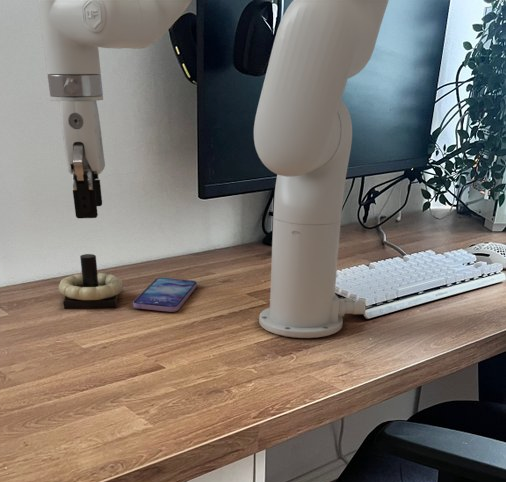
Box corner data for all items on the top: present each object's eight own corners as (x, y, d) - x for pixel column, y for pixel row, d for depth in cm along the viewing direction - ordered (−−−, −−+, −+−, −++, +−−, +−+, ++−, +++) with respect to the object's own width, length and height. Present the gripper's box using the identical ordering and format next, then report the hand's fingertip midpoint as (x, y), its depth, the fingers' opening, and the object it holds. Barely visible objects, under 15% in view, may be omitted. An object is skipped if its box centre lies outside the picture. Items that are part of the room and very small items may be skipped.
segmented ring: (123, 282, 116) (122, 270, 116) (122, 301, 108) (121, 288, 107) (62, 283, 115) (61, 271, 114) (57, 302, 107) (55, 290, 106)
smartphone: (198, 280, 119) (176, 308, 107) (198, 286, 120) (176, 313, 107) (157, 276, 120) (130, 303, 107) (157, 282, 121) (130, 309, 108)
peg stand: (118, 292, 116) (115, 249, 112) (115, 308, 109) (112, 262, 105) (69, 293, 115) (64, 249, 111) (64, 308, 108) (58, 262, 104)
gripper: (97, 91, 93) (110, 222, 101) (106, 87, 108) (116, 201, 116) (40, 91, 92) (58, 223, 100) (57, 87, 107) (71, 202, 115)
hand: (89, 211), depth 108 cm, fingers open, 9 cm apart
